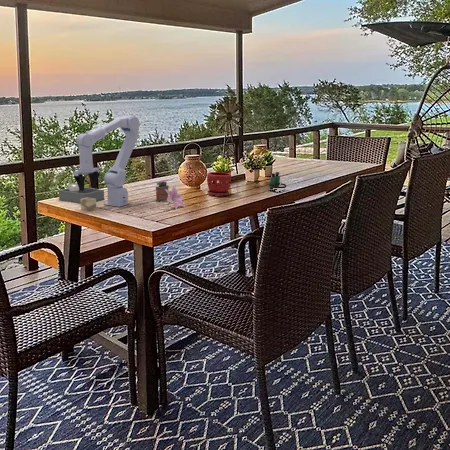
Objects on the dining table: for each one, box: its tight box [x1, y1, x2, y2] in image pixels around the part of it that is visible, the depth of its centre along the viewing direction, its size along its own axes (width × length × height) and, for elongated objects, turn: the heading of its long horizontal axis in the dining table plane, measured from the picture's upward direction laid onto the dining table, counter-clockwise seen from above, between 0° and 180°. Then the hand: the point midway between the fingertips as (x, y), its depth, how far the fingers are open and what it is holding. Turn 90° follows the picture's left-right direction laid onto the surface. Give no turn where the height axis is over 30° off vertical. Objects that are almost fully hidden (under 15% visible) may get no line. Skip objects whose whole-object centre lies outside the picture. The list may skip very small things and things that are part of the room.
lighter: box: [155, 180, 170, 203], centre depth 263 cm, size 8×3×10 cm, turn 141°
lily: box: [165, 185, 186, 210], centre depth 250 cm, size 12×12×10 cm
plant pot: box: [206, 171, 232, 197], centre depth 280 cm, size 13×13×12 cm
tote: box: [58, 186, 105, 205], centre depth 262 cm, size 18×14×5 cm
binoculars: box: [268, 171, 287, 190], centre depth 294 cm, size 9×11×10 cm
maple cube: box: [80, 197, 97, 211], centre depth 243 cm, size 5×5×5 cm
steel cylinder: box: [68, 183, 79, 193], centre depth 262 cm, size 5×5×7 cm
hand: (87, 189), depth 241 cm, fingers open, 7 cm apart
